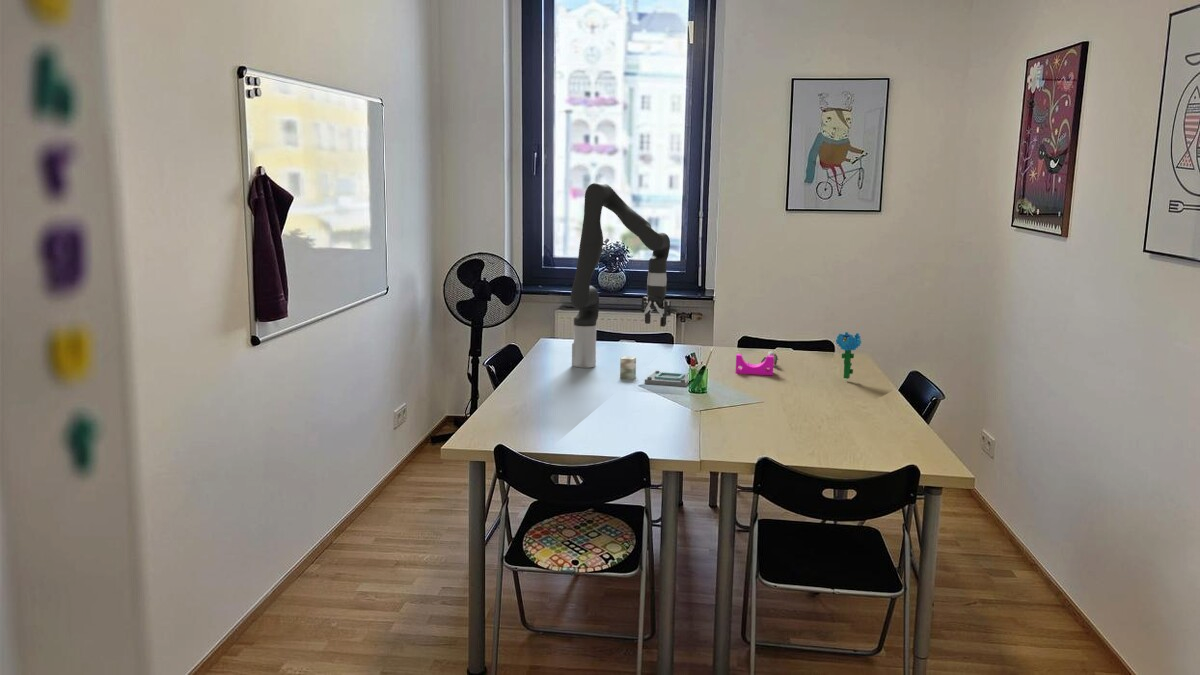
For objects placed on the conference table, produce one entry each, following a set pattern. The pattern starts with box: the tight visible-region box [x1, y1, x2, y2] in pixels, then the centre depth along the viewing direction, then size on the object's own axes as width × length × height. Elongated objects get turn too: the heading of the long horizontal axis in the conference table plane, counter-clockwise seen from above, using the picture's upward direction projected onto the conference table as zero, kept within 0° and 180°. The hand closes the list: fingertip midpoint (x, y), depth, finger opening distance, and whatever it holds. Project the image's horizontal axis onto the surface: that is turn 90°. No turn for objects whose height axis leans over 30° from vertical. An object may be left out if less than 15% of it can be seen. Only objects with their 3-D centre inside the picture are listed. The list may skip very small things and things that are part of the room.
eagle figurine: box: [760, 350, 779, 369], centre depth 382 cm, size 8×7×9 cm
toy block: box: [735, 353, 774, 376], centre depth 369 cm, size 15×6×8 cm, turn 78°
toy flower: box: [835, 331, 862, 380], centre depth 359 cm, size 9×9×18 cm
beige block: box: [619, 355, 637, 380], centre depth 355 cm, size 5×5×8 cm
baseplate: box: [644, 370, 690, 387], centre depth 350 cm, size 16×16×2 cm
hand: (655, 325), depth 355 cm, fingers open, 8 cm apart
